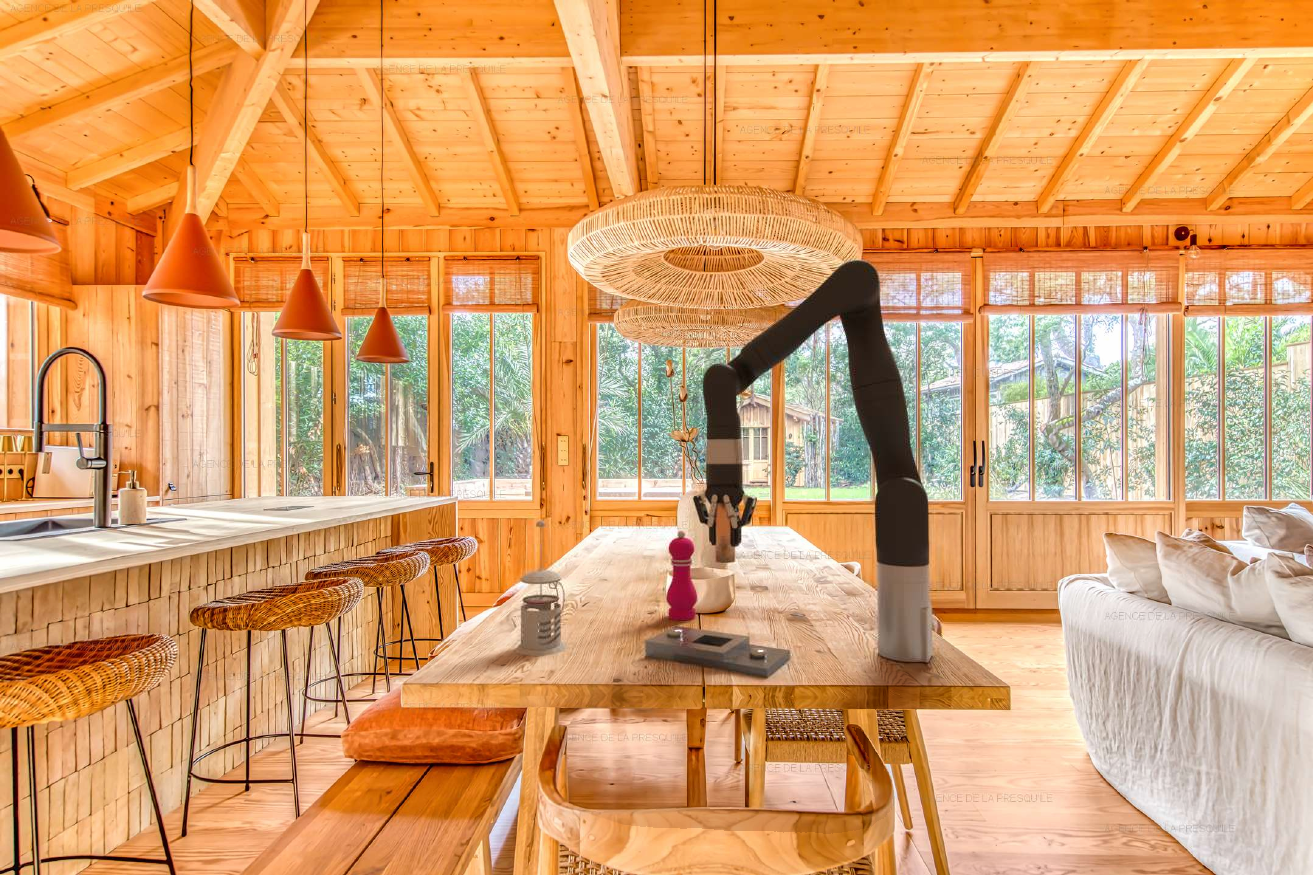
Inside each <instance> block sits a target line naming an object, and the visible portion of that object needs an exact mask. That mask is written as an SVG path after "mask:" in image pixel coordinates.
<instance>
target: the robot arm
mask: <svg viewBox="0 0 1313 875" xmlns="http://www.w3.org/2000/svg"><path fill="white" fill-rule="evenodd" d="M836 317H839V319H840V322H841V325H842V329H843V332H844V334H845V338H846V343H847V357H848V359H847V360H848V370H849V372H848V373H849V380H850V386H851V391H852V396H853V401H854V406H855V410H856V413H857V418H858V420H859V422H860V423H859V424H860V426H861V428H862V431H863V435H864V437H865V439H866V442H867V444H868V447H869V449H870V452H871V455H872V459H873V464H874V470H875V471H874V472H875V479H876V489H877V491H876V494H875V496H874V497H875V498H874V525H875V526H874V529H875V532H874V537H875V550H876V551H875V552H876V584H877V586H876V588H877V589H876V590H877V594H876V597H877V605H876V606H877V607H876V609H877V653H878V654H879V656H881V657H883V658H885V659H887V660H892V661H898V662H907V663H920V662H921V663H929V662H930V660H931V658H932V657H933V605H932V603H931V601H930V599H931V598H930V597H931V596H930V593H931V592H930V587H931V586H930V531H929V530H930V527H929V526H930V525H929V521H930V520H929V519H930V518H929V497H928V494H927V491H926V489H925V487H924V484H923V482H922V479H921V476H920V474H919V471H918V468H917V464H916V462H915V459H914V454H913V451H912V446H911V445H912V444H911V433H910V422H909V421H910V420H909V412H908V406H907V401H906V400H907V398H906V396H905V395H906V394H905V391H904V385H903V382H902V381H903V380H902V378H901V374H900V370H899V366H898V364H897V361H896V359H895V356H894V353H893V350H892V348H891V346H890V344H889V342H888V339H887V335H886V333H885V328H884V322H883V314H882V306H881V282H880V276H879V273H878V271H877V269H876V267H875V266H874V265H873V264H872V263H870V262H869V261H866V260H863V259H852V260H848V261H846V262H844V263H842V264H841V265H840V266H838V267H837V268H836V269H835V270H834V271H833V272H832V273H831V274H830V275H829V276H828V277H827V278H826V279H825V280H824V281H823V282H822V283H821V284H820V285H819V286H818V288H816V289H815V290H814V291H813V292H811V294H809V295H808V297H807V298H805V299H804V300H803V301H802V302H801V303H800V304H798V305H797V306H796V307H795V308H793V309H792V310H791V311H789V312H788V313H787V314H786V315H784V316H783V317H782V318H780V319H779V320H778V321H776V322H775V323H774V324H772V325H771V326H769V327H768V328H767V329H765V330H763V331H762V332H761V333H759V334H758V335H756V336H755V337H754V338H752V340H750V341H749V342H747V343H746V344H745V345H744V346H743V347H742V348H741V350H740V353H738V355H736V356H734V358H733V359H731V360H730V361H729V362H728V363H723V362H717V363H714V364H712V365H711V366H709V367H708V368H707V370H706V371H705V373H704V375H703V379H702V392H703V401H704V407H705V414H706V445H705V446H706V447H705V456H704V457H705V460H704V461H705V484H706V489H705V491H704V493H702V494H699V495H694V496H693V497H692V500H693V503H694V507H695V509H696V514H697V517H698V520H699V522H700V523H701V524H703V525H706V526H707V527H708V541H709V543H711V544H710V545H711V546H715V512H716V505H717V503H725V504H726V508H727V512H728V516H729V517H730V520H731V523H732V527H733V528H732V529H731V532H732V547H735V548H736V547H739V546H740V544H741V543H742V528H743V527H744V526H747V525H750V524H751V522H752V518H753V515H754V512H755V508H756V505H757V502H758V498H757V496H751V495H748V494H746V493H745V491H744V489H743V485H744V484H743V483H744V477H743V475H744V474H743V470H744V469H743V465H744V464H743V463H744V462H743V447H742V440H741V439H742V423H741V415H740V413H739V411H738V403H737V402H738V400H737V399H738V398H737V397H738V396H739V395H741V394H742V393H743V392H744V391H745V390H747V389H748V388H750V387H751V386H752V384H754V383H755V382H756V381H757V380H759V378H760V377H761V376H762V375H764V374H765V373H767V372H768V371H770V370H771V369H773V368H774V367H776V366H777V365H779V364H780V363H781V362H783V361H784V360H785V359H787V358H788V357H790V356H791V355H792V354H793V353H795V352H796V350H798V349H799V348H800V347H801V346H802V345H803V344H804V343H805V342H806V341H807V340H808V339H809V338H810V337H812V335H813V334H815V333H816V332H817V331H818V330H820V328H822V327H823V326H825V325H826V324H827V323H828V322H830V321H832V320H833V319H834V318H836ZM742 501H743V506H744V508H743V511H742V514H741V510H740V504H741V502H742ZM707 503H709V505H710V507H709V511H708V509H707V505H706V504H707ZM734 510H735V512H734Z"/></svg>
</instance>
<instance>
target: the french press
mask: <svg viewBox="0 0 1313 875" xmlns="http://www.w3.org/2000/svg"><path fill="white" fill-rule="evenodd" d="M535 527H538V528H540V529H539V535H540V536H539V542H540V543H539V544H540V545H539V546H540V548H539V552H540V553H539V558H540V560H539V562H540V563H539V565H540V567H539V569H537V570H531V571H528V572H527V573H525V574H524V575H523V576H521V577H520V578H519V580H520V582H521V583H523V584H527V585H540V588H539V589H540V590H539V591H540V592H539V594H531V595H527V596H525V597H523V598H522V602H524V604H523V605H521V606H520V627H521V628H520V640H521V641H520V643H519V644H518V645H517V647H516V648H515V652H517V653H518V654H521V655H525V656H533V657H534V656H535V657H537V656H549V655H554V654H558V653H560V652H562V651H564V650H566V646H567V645H566V644H565V643H564V642H563V641H562V635H561V634H562V629H561V626H562V625H561V622H562V621H561V620H562V618H561V617H562V616H561V615H562V612H563V611H564V606H565V590H564V586H563V585H562V583H561V582H560V581H561V580H562V576H561V575H560V574H558V573H557V572H556V571H552V570H551V569H543V568H542V528H543V527H546V521H544V520H538V521H537V522H536V523H535ZM547 584H548V588H549V589H551V590H556V594H555V595H554V594H547V593H546V594H542V589H543V588H542V585H547ZM551 584H553V585H554V587H551ZM557 584H559V585H560V587H561V589H562V595H563V599H562V600H563V601H562V606H561V604H560V603H559V600H560V597H559V591H558V587H557V586H558V585H557ZM552 604H553V609H552ZM529 609H535V610H529ZM552 620H553V621H552ZM552 627H553V628H552ZM552 634H553V635H552Z"/></svg>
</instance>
